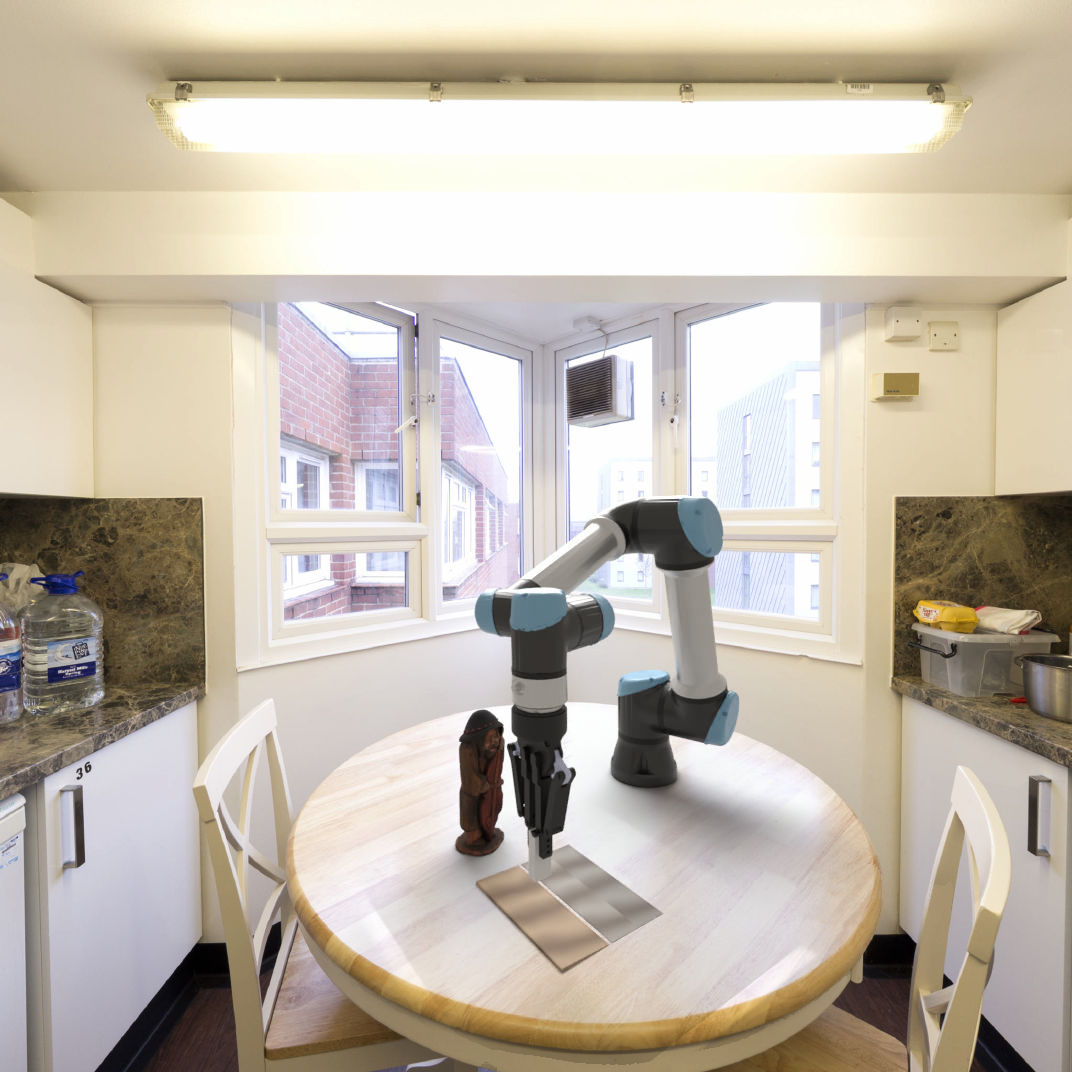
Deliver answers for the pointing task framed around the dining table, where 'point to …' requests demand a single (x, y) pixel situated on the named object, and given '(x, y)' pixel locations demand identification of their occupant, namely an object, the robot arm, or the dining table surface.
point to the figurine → (481, 784)
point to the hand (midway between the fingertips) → (540, 876)
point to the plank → (542, 917)
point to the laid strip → (596, 894)
